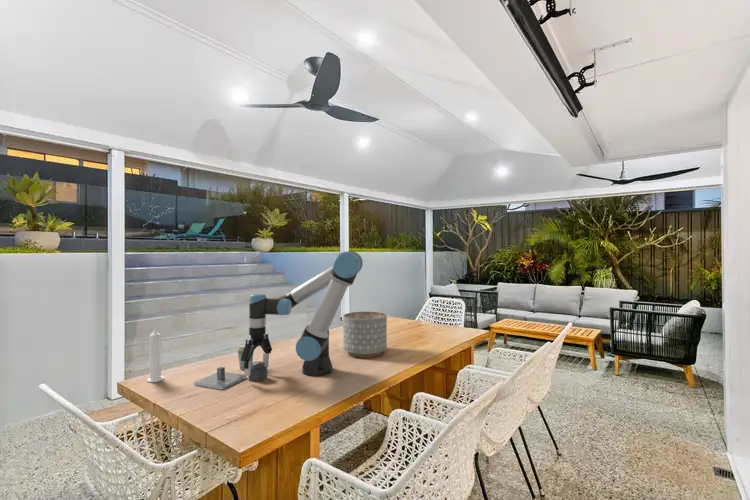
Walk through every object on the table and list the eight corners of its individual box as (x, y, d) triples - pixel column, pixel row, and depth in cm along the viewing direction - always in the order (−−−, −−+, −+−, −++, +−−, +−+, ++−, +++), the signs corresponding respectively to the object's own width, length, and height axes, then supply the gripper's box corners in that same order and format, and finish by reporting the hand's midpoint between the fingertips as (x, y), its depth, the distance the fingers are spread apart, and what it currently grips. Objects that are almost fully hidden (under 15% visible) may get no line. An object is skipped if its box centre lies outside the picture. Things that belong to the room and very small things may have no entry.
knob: (256, 376, 191) (256, 359, 191) (267, 377, 188) (267, 361, 188) (248, 380, 185) (248, 363, 185) (259, 382, 183) (259, 365, 183)
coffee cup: (249, 371, 198) (249, 348, 197) (233, 370, 199) (233, 347, 199) (257, 366, 206) (257, 343, 206) (242, 365, 208) (242, 342, 207)
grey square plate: (246, 378, 188) (246, 364, 188) (222, 389, 173) (222, 375, 173) (219, 374, 194) (219, 361, 193) (194, 385, 179) (194, 371, 179)
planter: (394, 350, 235) (394, 313, 234) (371, 361, 213) (371, 321, 213) (359, 345, 248) (359, 310, 248) (334, 354, 227) (334, 316, 226)
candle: (167, 378, 188) (166, 326, 188) (154, 383, 181) (154, 329, 181) (156, 376, 190) (155, 325, 190) (143, 381, 184) (142, 328, 183)
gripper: (266, 320, 199) (266, 362, 200) (232, 331, 176) (232, 377, 176) (279, 322, 197) (278, 364, 197) (246, 332, 173) (245, 380, 174)
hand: (256, 370), depth 187 cm, fingers open, 13 cm apart
